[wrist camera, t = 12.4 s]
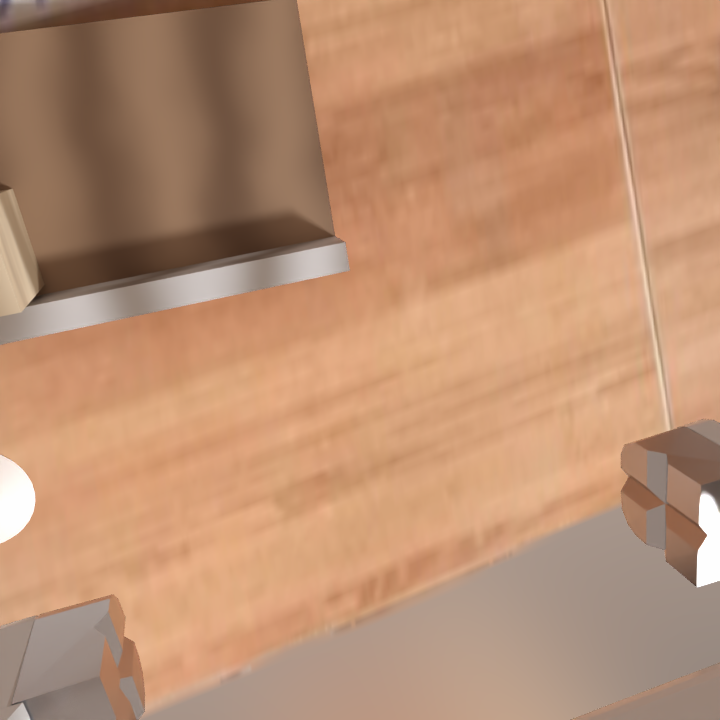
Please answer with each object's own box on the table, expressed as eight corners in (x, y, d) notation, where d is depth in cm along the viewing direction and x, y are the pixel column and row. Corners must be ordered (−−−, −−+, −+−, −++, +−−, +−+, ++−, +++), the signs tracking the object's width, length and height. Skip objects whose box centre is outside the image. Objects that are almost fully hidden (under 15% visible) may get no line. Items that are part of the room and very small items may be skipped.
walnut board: (289, 4, 35) (304, -13, 31) (331, 257, 40) (349, 270, 36) (-163, 60, 31) (-212, 49, 27) (-53, 336, 36) (-80, 361, 32)
